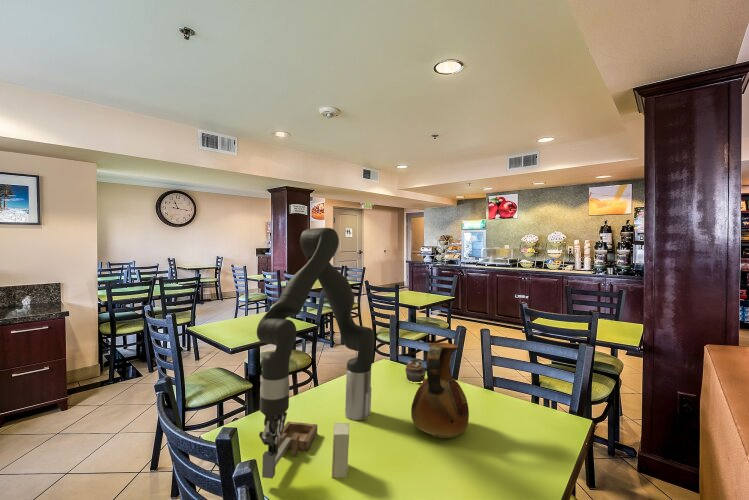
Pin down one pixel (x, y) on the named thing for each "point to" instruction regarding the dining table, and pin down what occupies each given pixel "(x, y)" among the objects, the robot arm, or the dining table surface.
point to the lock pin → (273, 459)
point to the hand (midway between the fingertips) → (272, 455)
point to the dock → (298, 436)
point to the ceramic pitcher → (440, 396)
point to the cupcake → (415, 370)
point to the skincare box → (340, 449)
